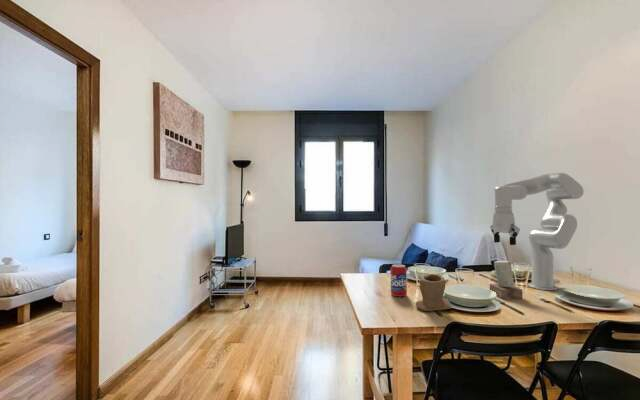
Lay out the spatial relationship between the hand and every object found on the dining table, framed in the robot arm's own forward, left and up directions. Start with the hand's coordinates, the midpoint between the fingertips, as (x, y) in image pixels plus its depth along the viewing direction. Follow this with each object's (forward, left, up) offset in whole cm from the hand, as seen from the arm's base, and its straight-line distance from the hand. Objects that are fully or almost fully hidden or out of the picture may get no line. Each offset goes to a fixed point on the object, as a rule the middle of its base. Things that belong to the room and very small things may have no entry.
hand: (504, 243), depth 155 cm
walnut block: (+4, +4, -26) cm, 26 cm away
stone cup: (+49, +13, -26) cm, 57 cm away
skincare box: (+4, +4, -21) cm, 21 cm away
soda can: (+55, -9, -25) cm, 61 cm away
